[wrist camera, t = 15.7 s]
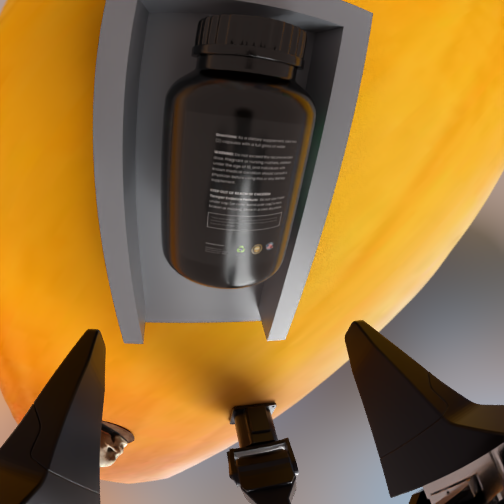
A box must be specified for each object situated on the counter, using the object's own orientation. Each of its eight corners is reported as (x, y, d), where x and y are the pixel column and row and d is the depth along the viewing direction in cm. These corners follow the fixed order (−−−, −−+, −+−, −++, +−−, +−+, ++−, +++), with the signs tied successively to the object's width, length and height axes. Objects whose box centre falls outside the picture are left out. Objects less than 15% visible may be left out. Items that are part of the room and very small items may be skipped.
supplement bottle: (296, 244, 18) (340, 50, 11) (254, 314, 12) (313, 9, 6) (203, 213, 20) (222, 37, 13) (136, 261, 14) (141, 16, 8)
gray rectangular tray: (272, 315, 26) (283, 350, 23) (129, 316, 23) (124, 354, 20) (341, 16, 12) (377, 7, 9) (127, -12, 9) (109, -33, 6)
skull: (151, 442, 41) (126, 479, 35) (121, 415, 47) (98, 448, 41) (107, 423, 33) (78, 465, 28) (80, 391, 39) (54, 429, 33)
